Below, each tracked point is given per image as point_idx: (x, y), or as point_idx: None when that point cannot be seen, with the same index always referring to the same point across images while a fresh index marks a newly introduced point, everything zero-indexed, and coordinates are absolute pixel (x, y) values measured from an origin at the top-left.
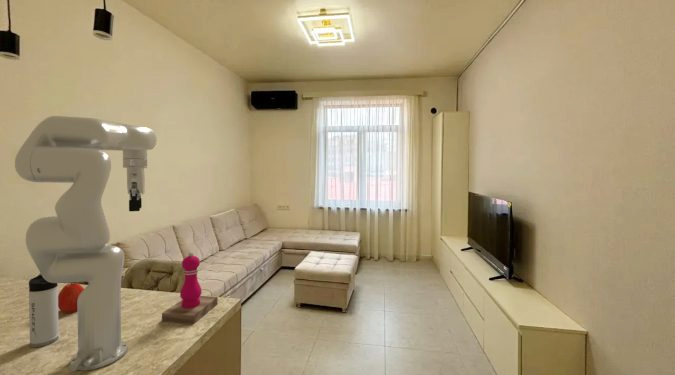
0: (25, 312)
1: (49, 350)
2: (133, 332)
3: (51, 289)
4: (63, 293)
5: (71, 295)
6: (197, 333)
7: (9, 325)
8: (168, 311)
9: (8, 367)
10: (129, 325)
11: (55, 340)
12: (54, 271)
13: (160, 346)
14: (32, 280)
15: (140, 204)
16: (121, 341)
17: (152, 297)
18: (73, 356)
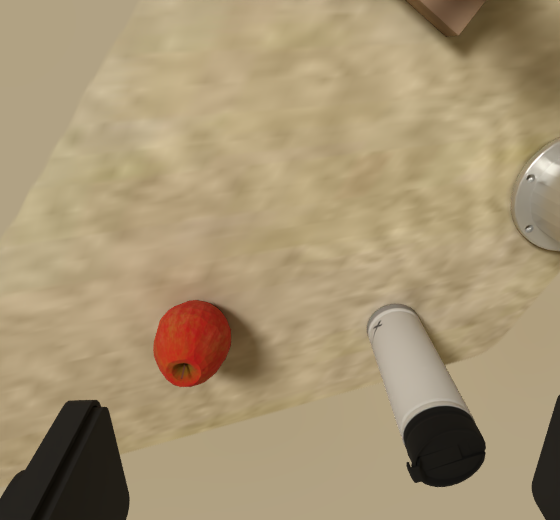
0: (164, 412)
1: (450, 304)
2: (475, 126)
3: (466, 410)
4: (213, 372)
5: (220, 348)
6: None
7: (243, 415)
8: (457, 8)
9: (483, 350)
10: (412, 143)
11: (406, 306)
12: None
13: None
14: (437, 479)
15: (79, 467)
16: (550, 152)
17: (171, 85)
18: (552, 249)
